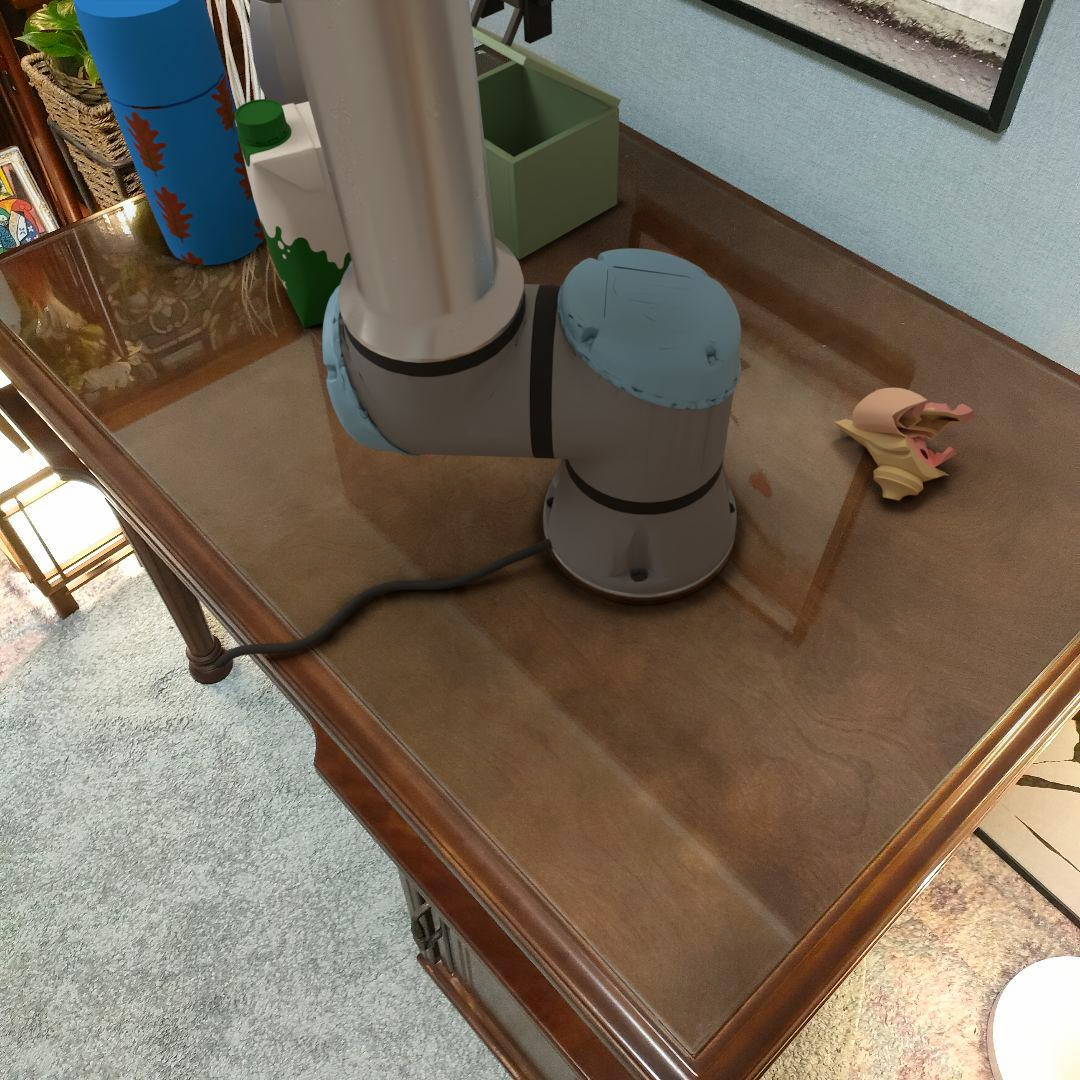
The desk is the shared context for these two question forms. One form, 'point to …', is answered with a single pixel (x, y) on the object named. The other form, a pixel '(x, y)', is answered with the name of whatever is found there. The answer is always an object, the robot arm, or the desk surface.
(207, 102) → the thermos
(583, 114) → the chest
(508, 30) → the lid
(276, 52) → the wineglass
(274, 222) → the milk carton
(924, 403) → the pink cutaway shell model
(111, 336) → the desk surface
